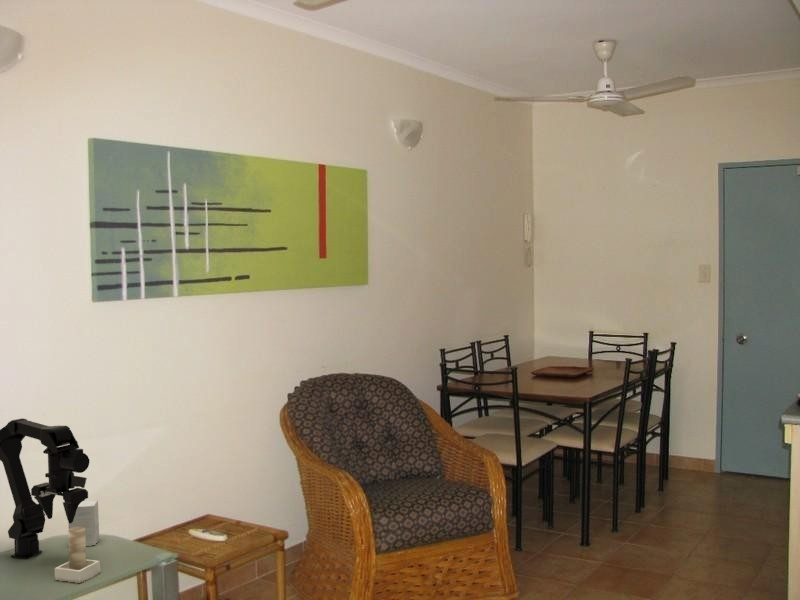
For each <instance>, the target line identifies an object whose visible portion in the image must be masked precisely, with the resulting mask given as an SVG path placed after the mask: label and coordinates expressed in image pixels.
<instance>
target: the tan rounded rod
mask: <svg viewBox="0 0 800 600" xmlns="http://www.w3.org/2000/svg"><path fill="white" fill-rule="evenodd" d="M67 533H68V562H69V569H73V570H81V569H83V568H85V567H86V559H87V546H86V539H85V527H81V526H79V527H72V528H70V529H69V528H68V532H67Z"/></svg>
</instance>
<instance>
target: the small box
mask: <svg viewBox="0 0 800 600" xmlns="http://www.w3.org/2000/svg"><path fill="white" fill-rule="evenodd" d="M99 517H100V516H99V501H98V500H84V501H82V502H81V503H80V504H79V506H78V508H77V510H76V514H75V517H74V520H73V522H72V523H69V522H68V530H69V529H70V528H72V527H79V526H81V527H85V539H86V547H93V546H92V545H95V546H96V545H97V544H98V542H99V541H100V521H99ZM96 543H97V544H96Z"/></svg>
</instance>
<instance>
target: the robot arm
mask: <svg viewBox="0 0 800 600" xmlns="http://www.w3.org/2000/svg"><path fill="white" fill-rule="evenodd" d="M26 437H28V438H32V439H35V440H38V441H40V444H41V445H43V446H44V447H46V448H45V449H44V450H43V454H47V465H48V467H47V469H48V472H47V473H45V474H44V475H45V478H48V482H47V481H46V482H42V483H40V484H35V485H32V488H31V489H30V487H29V484H28V481H27V480H28V479H27V477H26V473H25V471H24V467H23V464H22V460H21V457H20V455H21V453H22V449H23V443H22V441H23V440H24V439H26ZM78 443H79V442H78V441H77V440H76V438H75V436H74V433H73V432H72V430H71V428H70V426H68V425H45V424H42V423H39V422H35V421H31V420H28V419H27V418H17V419H13V420H12V419H11V420H10V421H9V422H7V424H6V425H4V426H3V427H2V428H1V429H0V461H1V462H2V464H3V465H2V466H3V468H4V472H5V475H6V479H7V482H8V485H9V489H10V491H11V495H12V498H13V499H12V500H13V501H14V506H15V508H14V511H13V513H12V519H13V520H12V521H13V523H12V525H11V526H10V527H9V528H8V530H7V534H8V538H9V539H13V540H14V553H12V554H10V557H12V558H19V559H25V560H28V559H30V558H32V557H35V556H37V555H39V554H41V553H42V552H43V550H40V540H39V534H41V533H43V532H44V528H45V523H46V518H47V519H48V520H51V519H53V511H54V499H55V497H56V496H60V497H62V499H63V502H62V504H63V509H64V513H65V516H66V519H67V523H68V524H69V523H72V522H73V520H74V517H75V514H76V510H77V508H78V506H79V504H80V503H81V502H82V501H86V500H87V499H89V491H88V490H87V489H86V488H85V486H86V483H87V479H88V478H87V477H83V476H78V475H75V473H76V474H77V473H79V474H81V473H84V472H85V471H86V470H87V469H89V465H90V458H89V456H88V455H87V454H86V453H84V449H83V448H80V446H79V444H78ZM33 498H34V499H33ZM34 500H36V501H37V502H35V501H34Z"/></svg>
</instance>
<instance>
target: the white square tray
mask: <svg viewBox="0 0 800 600" xmlns="http://www.w3.org/2000/svg"><path fill="white" fill-rule="evenodd" d="M99 574H101V560H96V559H89V558H88V559H87V558H86V567H85V568H83V569H81V570H73V569H69V561H66V562H65V563H63V564H60V565H58V566H57V567H54V581H55V580H59V581H58V582H62V581H68V582H67V583H70V582H75V583H74V584H77V583H81V582H82V583H84V582H86V581H88V580H90V579H92V578H93V577H95V576H97V575H99ZM85 580H86V581H85ZM83 581H84V582H83ZM82 583H81V584H82Z"/></svg>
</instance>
